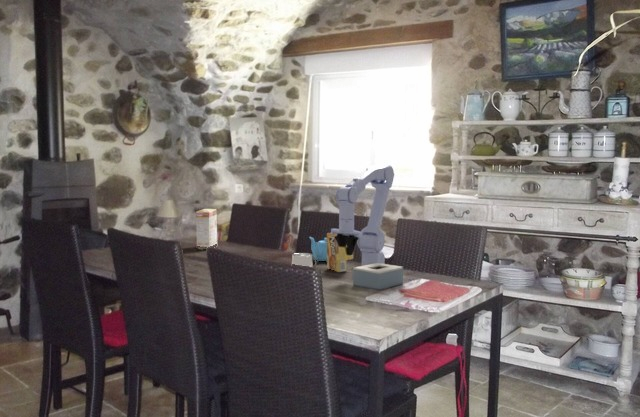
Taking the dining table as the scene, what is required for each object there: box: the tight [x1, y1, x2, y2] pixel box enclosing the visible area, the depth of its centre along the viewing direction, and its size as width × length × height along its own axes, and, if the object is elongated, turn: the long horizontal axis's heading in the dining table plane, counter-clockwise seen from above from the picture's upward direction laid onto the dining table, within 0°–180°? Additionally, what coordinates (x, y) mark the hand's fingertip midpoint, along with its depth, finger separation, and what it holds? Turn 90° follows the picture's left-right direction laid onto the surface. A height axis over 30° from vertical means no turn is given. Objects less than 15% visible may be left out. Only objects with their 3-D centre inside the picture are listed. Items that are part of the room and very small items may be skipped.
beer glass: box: [291, 252, 313, 267], centre depth 203 cm, size 7×7×15 cm
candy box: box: [326, 232, 348, 273], centre depth 254 cm, size 9×4×15 cm, turn 33°
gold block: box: [339, 244, 354, 261], centre depth 233 cm, size 5×3×5 cm, turn 136°
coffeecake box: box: [195, 208, 218, 248], centre depth 313 cm, size 15×7×20 cm, turn 174°
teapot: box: [308, 236, 327, 263], centre depth 277 cm, size 15×15×10 cm
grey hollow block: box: [352, 263, 404, 291], centre depth 226 cm, size 14×12×6 cm
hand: (346, 254), depth 234 cm, fingers closed on gold block, 3 cm apart
